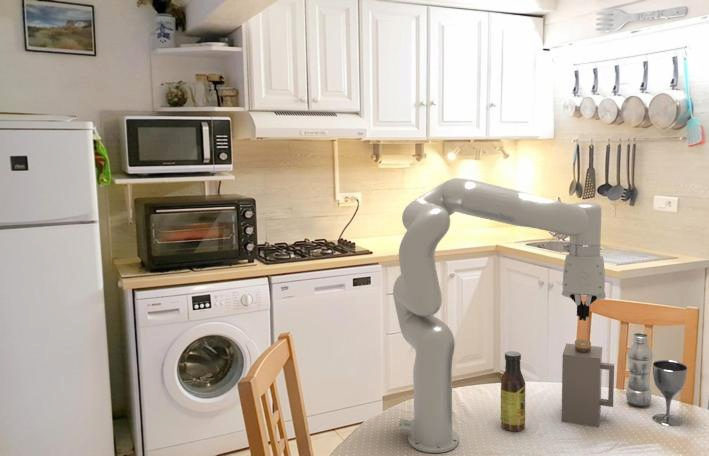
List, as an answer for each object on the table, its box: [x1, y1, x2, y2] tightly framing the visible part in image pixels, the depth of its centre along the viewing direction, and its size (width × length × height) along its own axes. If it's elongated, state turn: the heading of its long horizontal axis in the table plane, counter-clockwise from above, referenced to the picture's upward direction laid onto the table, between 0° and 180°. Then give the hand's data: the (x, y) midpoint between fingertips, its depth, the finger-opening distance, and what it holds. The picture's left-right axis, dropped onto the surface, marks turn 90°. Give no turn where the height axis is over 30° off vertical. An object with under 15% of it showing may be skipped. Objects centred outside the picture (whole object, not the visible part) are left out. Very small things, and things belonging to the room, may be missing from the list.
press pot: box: [561, 342, 615, 428], centre depth 165 cm, size 12×9×19 cm
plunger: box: [574, 339, 592, 352], centre depth 165 cm, size 7×7×19 cm
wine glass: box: [652, 359, 688, 427], centre depth 162 cm, size 8×8×15 cm
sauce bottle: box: [500, 350, 526, 432], centre depth 161 cm, size 7×6×20 cm
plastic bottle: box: [625, 332, 654, 407], centre depth 172 cm, size 6×7×20 cm
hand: (582, 318), depth 163 cm, fingers closed
